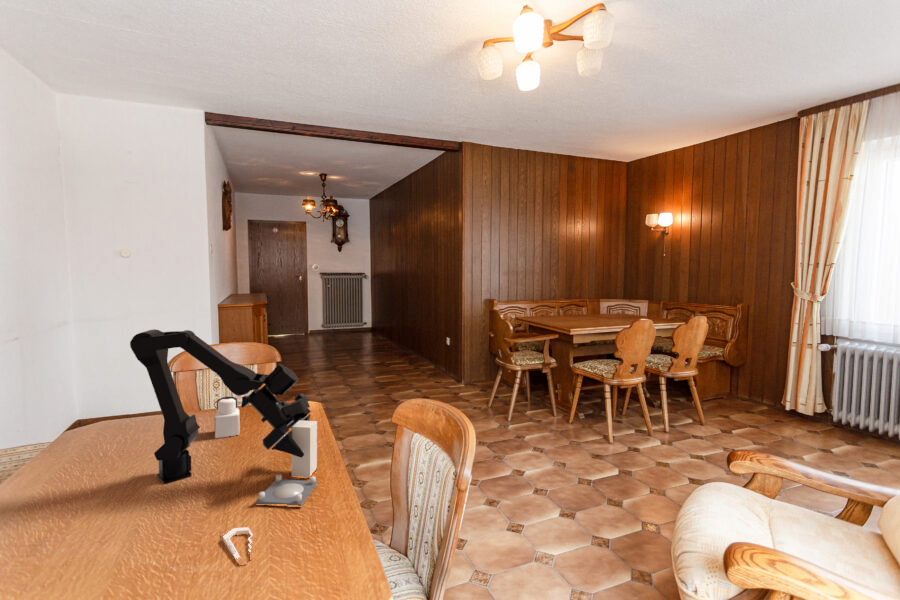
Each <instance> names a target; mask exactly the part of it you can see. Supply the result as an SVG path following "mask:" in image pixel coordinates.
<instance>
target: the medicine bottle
mask: <svg viewBox="0 0 900 600" xmlns="http://www.w3.org/2000/svg"><path fill="white" fill-rule="evenodd" d="M214 414H215V415H214V438H215V439H222V438H230V437H229V436H231V437H236V435H238V436H239V435H240V408H238V398H237V397H235V396H224V397H220V398H219V399H218V400H217V401H216V410H215V413H214Z"/></svg>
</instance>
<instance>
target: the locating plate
mask: <svg viewBox="0 0 900 600" xmlns="http://www.w3.org/2000/svg"><path fill="white" fill-rule="evenodd" d="M316 479H317V477H316V476H315V475H313V476H312V477H310V479H309V480H303V479H301V480H299V479H283V477H282V474H280V473H279V474H276V475H275V480H274V481H273V482H272V483H271V484H270V486H268V487H267V489H266V490H264V491H260V492H258V498H257V499H256V500H255V505H256V504H287V505H298V506H301V505H302V504H303V503H304V501H305V500H306V499H307V497H308V496H309V494H310V493H311V492H312V490H313V489H314V487H315V486H316V484H317V483H318V484H319V481H317V480H316Z"/></svg>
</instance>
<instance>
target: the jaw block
mask: <svg viewBox="0 0 900 600" xmlns="http://www.w3.org/2000/svg"><path fill="white" fill-rule="evenodd" d="M291 430H292V438H293V440H294V441H295V442H296V444H297V445H298V446H299V447H300V449H301V450H302V452H303V453H304V456H303V457H298V456H295V455H292V454H291V477H292V476H303V477H307V476H308V477H310V476H311V475H312V473H313V472H314V471H315V470H316V468H317V469H318V420H309V421H303V420H299V421H298V422H297V423H296V424H294V425H293V426H292V428H291Z"/></svg>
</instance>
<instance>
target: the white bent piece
mask: <svg viewBox="0 0 900 600" xmlns="http://www.w3.org/2000/svg"><path fill="white" fill-rule="evenodd" d="M242 532H243V533H244V532H248V533H249V534H250V535H251V536H250V537H249V536H248V538H247V542H248V541H249V542H250V544H251V543H252V544H253V539H250V538H251V537H252V536H253V537H254V533H253V531H252V530H251V529H250V528H249V527H248V526H246V527H233V528H232V529H231V530H229V531H228V533H227V532H226V533H227V534H225V535H224V536H223V539H222V541H223V540H224V542H225V543H226V545H227V546H228V548H229V550H230V551H231V552H232V554H233V556H234V557H235V559H236V558H237V559H238V558H239V557H240V558H241V556H240V553H239V552H238V550H237V549H236V547H235V545H234V543H233V542H232V539H231V540H230V538H231V537H232V536H233V535H235V534H236V533H242ZM224 542H223V543H224ZM250 544H249V543H248V544H247V547H248V546H249V548H250V549H251V548H252V546H251V545H250ZM226 545H225V546H226ZM250 549H247V552H248V551H249V552H251V550H250ZM252 549H253V548H252ZM229 550H228V551H229ZM241 559H242V558H241Z"/></svg>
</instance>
